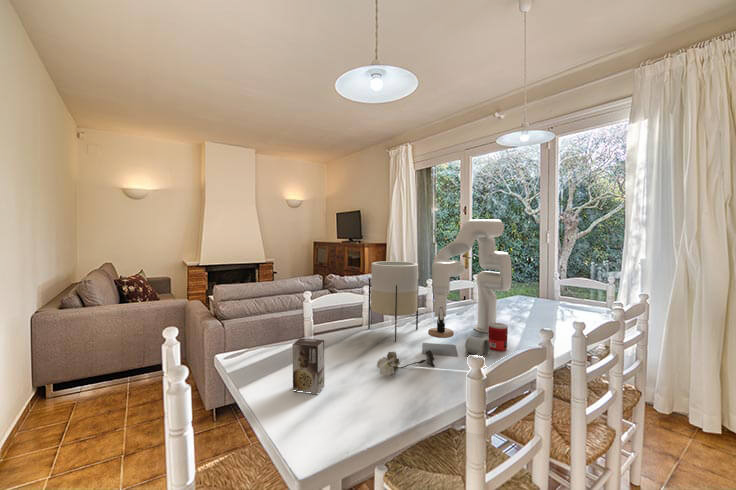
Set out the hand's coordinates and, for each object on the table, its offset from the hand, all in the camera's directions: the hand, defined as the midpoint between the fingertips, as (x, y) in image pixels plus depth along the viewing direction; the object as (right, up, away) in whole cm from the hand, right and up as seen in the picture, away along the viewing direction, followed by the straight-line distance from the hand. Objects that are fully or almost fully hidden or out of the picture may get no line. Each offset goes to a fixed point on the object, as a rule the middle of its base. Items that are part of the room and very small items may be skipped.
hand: (440, 330), depth 152 cm
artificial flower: (-18, -10, -21) cm, 29 cm away
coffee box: (-52, -10, -38) cm, 65 cm away
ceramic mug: (+14, -10, -6) cm, 18 cm away
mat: (-1, -9, 0) cm, 9 cm away
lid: (0, -2, 0) cm, 2 cm away
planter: (-21, -8, +24) cm, 33 cm away
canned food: (+26, -9, +3) cm, 28 cm away
